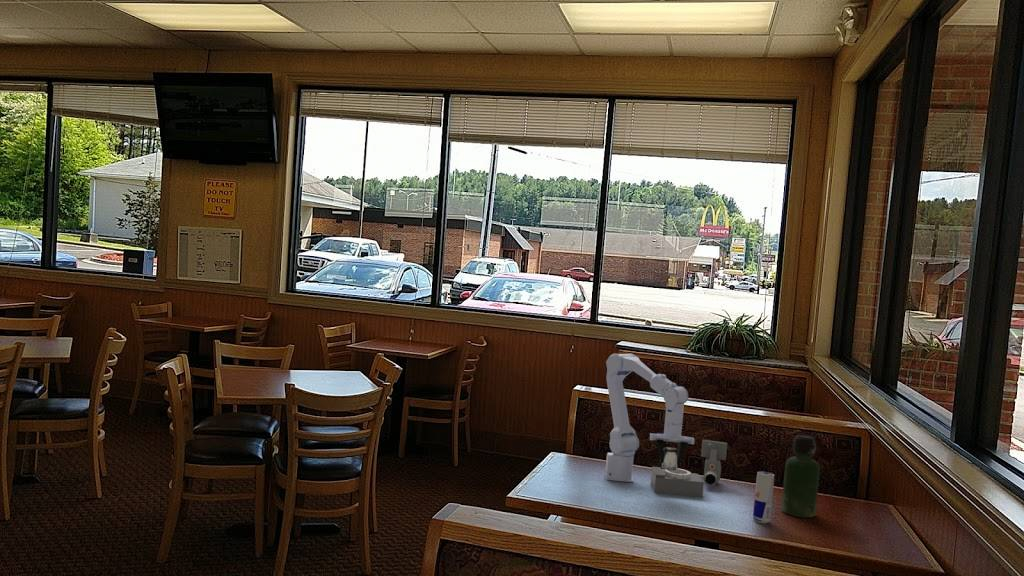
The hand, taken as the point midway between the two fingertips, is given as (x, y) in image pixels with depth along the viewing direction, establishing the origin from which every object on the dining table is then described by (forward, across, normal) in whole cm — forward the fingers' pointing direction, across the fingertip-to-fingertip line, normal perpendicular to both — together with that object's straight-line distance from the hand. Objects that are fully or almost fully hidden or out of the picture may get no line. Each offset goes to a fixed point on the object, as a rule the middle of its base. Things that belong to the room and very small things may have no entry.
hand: (669, 463), depth 270 cm
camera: (+11, +18, +18) cm, 28 cm away
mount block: (+10, +4, +6) cm, 13 cm away
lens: (+2, 0, 0) cm, 2 cm away
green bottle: (+10, +41, -7) cm, 43 cm away
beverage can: (+10, +26, -21) cm, 35 cm away
